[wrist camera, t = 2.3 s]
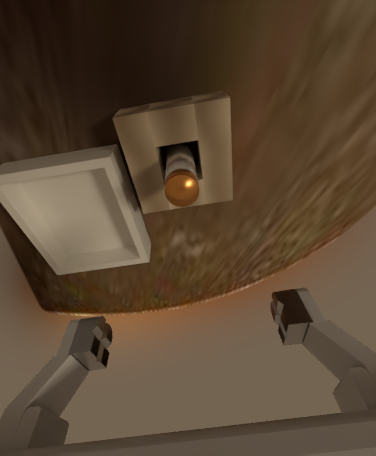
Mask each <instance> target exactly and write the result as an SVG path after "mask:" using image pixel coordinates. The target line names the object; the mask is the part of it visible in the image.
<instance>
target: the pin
mask: <svg viewBox="0 0 376 456" xmlns="http://www.w3.org/2000/svg"><path fill="white" fill-rule="evenodd" d="M165 196H166V198H167V200H168V201H169V202H170V203H171V204H173V205H175V206H178V207H185V206H189V205H191V204H193V203H194V202H195V201H196V200H197V198H198V196H199V185H198V179H197V174H196V169H195V163H194V158H193V153H192V148H191V145H190V143H189V142H184V143H178V144H172V145H168V147H167V158H166V177H165Z"/></svg>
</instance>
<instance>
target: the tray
mask: <svg viewBox="0 0 376 456" xmlns="http://www.w3.org/2000/svg"><path fill="white" fill-rule="evenodd" d="M0 202H1V204H2V205H3V206H4V207H5V209H6V210H7V211H8V213H9V214H10V215H11V216H12V218H13V219H14V220H15V222H16V223H17V224H18V225H19V227H20V228H21V229H22V230H23V232H24V233H25V234H26V236H27V237H28V238H29V239H30V241H31V242H32V243H33V245H34V246H35V247H36V248H37V250H38V251H39V252H40V254H41V255H42V256H43V257H44V259H45V260H46V261H47V263H48V264H49V265H50V266H51V268H52V269H53V270H54V272H55V273H56V274H57V275H62V274H69V273H76V272H83V271H90V270H97V269H104V268H111V267H118V266H125V265H132V264H139V263H146V262H149V258H150V249H151V242H150V239H149V236H148V233H147V230H146V227H145V224H144V221H143V218H142V215H141V212H140V209H139V206H138V203H137V201H136V198H135V195H134V192H133V189H132V186H131V183H130V180H129V177H128V174H127V171H126V168H125V165H124V162H123V159H122V156H121V153H120V150H119V147H118V144H113V145H108V146H102V147H96V148H90V149H84V150H78V151H72V152H66V153H60V154H55V155H49V156H43V157H37V158H31V159H25V160H19V161H13V162H7V163H3V164H2V165H0Z"/></svg>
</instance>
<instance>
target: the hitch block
mask: <svg viewBox="0 0 376 456" xmlns="http://www.w3.org/2000/svg"><path fill="white" fill-rule="evenodd" d="M112 119H113V122H114V125H115V128H116V131H117V134H118V137H119V140H120V143H121V146H122V149H123V152H124V155H125V158H126V161H127V164H128V167H129V171H130V174H131V177H132V180H133V183H134V186H135V189H136V192H137V195H138V198H139V201H140V204H141V207H142V210H143V213H151V212H157V211H164V210H170V209H177V208H183V207H178V206H175V205H173V204H171V203H170V202H169V201H168V200H167V198H166V196H165V177H166V171H165V167H164V163H163V158H162V154H161V149H160V146H166V145H172V144H178V143H184V142H190V141H196V140H197V148H198V156H199V164H200V165H197V166H195V169H196V174H197V179H198V185H199V196H198V198H197V200H196V201H195V202H194V203H193V204H191V205H189V206H185V207H190V206H196V205H203V204H209V203H216V202H223V201H229V200H233V185H232V149H231V114H230V97H229V96H228V95H227V94H226V93H225V92H224V91H218V92H212V93H206V94H201V95H195V96H189V97H184V98H178V99H172V100H167V101H161V102H156V103H150V104H144V105H139V106H133V107H127V108H122V109H119V111H118V112H117V113H116V114H115V115H114V117H113V118H112Z"/></svg>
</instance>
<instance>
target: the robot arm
mask: <svg viewBox="0 0 376 456" xmlns="http://www.w3.org/2000/svg"><path fill="white" fill-rule="evenodd" d="M272 299H273V301H272V302H271V313H272V316H273V319H274V321H275V323H277V324H278V325H279V329H278V332H279V335H280V337H281V340H282V342H283V345H292V344H302V343H303V345H304V346H305V347H306V348H307V349H308V350H309V351H310V352H311V353H312V354H313V355H314V356H315V357H316V358H317V359H318V360H319V361H320V362H321V363H322V364H323V365H324V366H325V367H326V368H327V369H329V370H330V371H331V372H332V373H333V374H334V375H335V376H336V377H337V378H338V379H339V380H340V383H339V384H338V386H337V387H336V388H335V390H334V392H333V395H334V397H335V399H336V401H337V403H338V406H339V408H340V410H341V412H342V413H336V414H327V415H318V416H309V417H300V418H292V419H284V420H275V421H266V422H257V423H248V424H239V425H230V426H222V427H214V428H205V429H196V430H187V431H179V432H170V433H161V434H152V435H144V436H134V437H126V438H117V439H108V440H99V441H91V442H82V443H73V444H64V442H65V438H66V435H67V431H68V426H69V423H68V422H67V421H66V420H64V419H62V418H60V417H59V416H60V415H61V413H62V412H63V410H64V409H65V407H66V406H67V404H68V403H69V401H70V400H71V398H72V397H73V395H74V394H75V392H76V391H77V389H78V388H79V386H80V385H81V383H82V382H83V380H84V379H85V377H86V376H87V374H88V373H89V371H91V370H98V369H104V368H106V367H107V362H108V357H109V352H108V350H107V348H108V347H109V346H110V345H111V342H112V329H111V326H110V325H109V324H107V323H105V322H106V319H105V318H104V317H103V316H100V317H93V318H85V319H77V320H72V321H70V323H69V324H68V326H67V329H66V332H65V334H64V337H63V340H62V342H61V345H60V347H59V350H58V353H57V356H55V357H53V358H52V359H51V360H50V361H49V362H48V363H47V364H46V365H45V366H44V367H43V368H42V370H41V371H40V372H39V373H38V374H37V375H36V376H35V377H34V378H33V379H32V380H31V381H30V383H29V384H28V385H27V386H26V387H25V388H24V389H23V390H22V391H21V392H20V393H19V395H18V396H17V397H16V398H15V399H14V400H13V401H12V402H11V403H10V404H9V405H8V406H7V408H6V409H5V410H4V413H3V415H2V417H1V419H0V456H376V353H375V352H374V351H372V350H371V349H370V348H368V347H367V346H365V345H364V344H362V343H361V342H359V341H358V340H357V339H355V338H354V337H352V336H351V335H350V334H348V333H347V332H345V331H344V330H343V329H341V328H340V327H338V326H337V325H335V324H334V323H333V322H331V321H326V320H325V318H324V316H323V314H322V313H321V311H320V309H319V307H318V306H317V304H316V302H315V301H314V299H313V297H312V295H311V294H310V292H309V290H308V289H306V288H300V289H291V290H284V291H279V292H273V293H272Z"/></svg>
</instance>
